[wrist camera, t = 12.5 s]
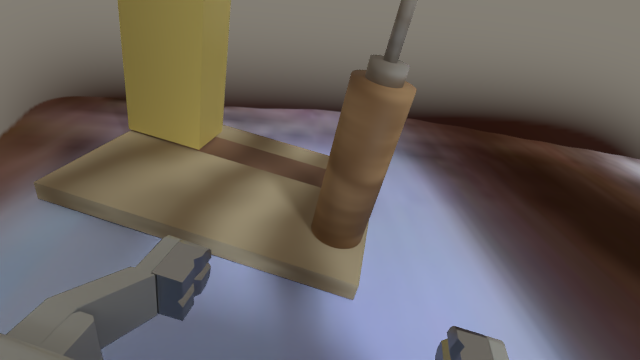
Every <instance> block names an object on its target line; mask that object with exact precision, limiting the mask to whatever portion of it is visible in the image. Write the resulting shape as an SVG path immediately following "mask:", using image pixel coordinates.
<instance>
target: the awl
mask: <svg viewBox="0 0 640 360" xmlns="http://www.w3.org/2000/svg"><path fill="white" fill-rule="evenodd" d="M417 1H418V0H401V3H400V6H399V10H398V13H397V16H396V19H395V23H394V26H393V29H392V32H391V36H390V39H389V42H388V46H387V49H386V52H385V55H384V56H381V55H371V56H370V60H369V63H368V67H367V70H355V71H353V72H352V73H351V76H350V80H349V84H348V88H347V91H346V95H345V99H344V103H343V107H342V110H341V114H340V118H339V122H338V126H337V129H336V133H335V137H334V141H333V145H332V148H331V152H330V156H329V160H328V164H327V167H326V171H325V175H324V179H323V183H322V187H321V190H320V194H319V198H318V202H317V206H316V209H315V213H314V217H313V221H312V225H311V229H312V232H313V234H314V235H315V237H316V238H317V239H318V240H320V241H321V242H322V243H324V244H326V245H328V246H330V247H333V248H338V249H350V248H353V247H355V246H357V245H358V244H359V243H360V242H361V240H362V237H363V234H364V231H365V229H366V226H367V223H368V221H369V218H370V215H371V213H372V210H373V207H374V204H375V202H376V199H377V196H378V194H379V191H380V188H381V186H382V183H383V180H384V177H385V175H386V172H387V169H388V167H389V164H390V161H391V158H392V156H393V153H394V150H395V148H396V145H397V142H398V140H399V137H400V134H401V131H402V129H403V126H404V123H405V121H406V118H407V115H408V112H409V110H410V107H411V104H412V102H413V99H414V96H415V94H416V88H415V87H414V86H413V85H411V84H410V83H408V82H406V81H405V80H406V77H407V74H408V71H409V68H410V66H409V65H408V64H406V63H404V62H402V61H400V60H398V59H399V56H400V53H401V50H402V46H403V43H404V40H405V37H406V34H407V31H408V28H409V25H410V22H411V19H412V16H413V13H414V10H415V6H416V4H417Z"/></svg>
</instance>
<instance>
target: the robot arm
mask: <svg viewBox="0 0 640 360" xmlns="http://www.w3.org/2000/svg"><path fill="white" fill-rule="evenodd" d="M210 258H211V249H209V248H206V247H203V246H200V245H197V244H194V243H191V242H189V241H186V240H183V239H179V238H176V237H173V236H170V235H168V236H166V237H164V238H163V239H162V240H161V241H160V242H159V243H158V244H157V245H156V246H155V247H154V248H153V249H152V250H151V251H150V252H149V254H148V255H147V256H146V257H145V258H144V259H143V260H142V261H141V262H140V263H139V264H138V265H137V266H136V267H135V268H134V267H128V268H126V269H123V270H120V271H118V272H115V273H113V274H110V275H107V276H105V277H102V278H99V279H97V280H94V281H92V282H89V283H86V284H84V285H81V286H78V287H76V288H73V289H71V290H68V291H65V292H63V293H60V294H57V295H55V296H52V297H50V298H47V299H46V300H45V301H44V302H43V303H41V304H40V305H39V306H38V307H37V308H36V309H35V310H33V311H32V312H31V313H30V314H29V315H28V316H27V317H25V318H24V319H23V320H22V321H21V322H20V323H19V324H17V325H16V326H15V327H14V328H13V329H12V330H11V331H9V332H8V333H7V334H6V335H4V334H1V333H0V360H103V357H102V353H101V349H102V348H104V347H105V346H107V345H109V344H110V343H112V342H114V341H115V340H117V339H119V338H120V337H122V336H124V335H125V334H127V333H129V332H130V331H132V330H134V329H135V328H137V327H139V326H140V325H142V324H143V323H145V322H147V321H148V320H150V319H152V318H153V317H155V316H157V315H158V314H161V315H165V316H168V317H171V318H174V319H178V320H181V321H183V320H184V318H185V317H186V315H187V314H188V312H189V311H190V309H191V308H192V306H193V305H194V297H195V296H197V295H199V294H201V293H202V291H203V289H204V288H205V286H206V284H207V281H208V279H209V276H210V270H211V266H210V265H209V263H208V261H209V260H210ZM157 313H158V314H157ZM447 337H448V339H445V340H442V341H441V342H440V344H439V346H438V348H437V351H436V355H435V360H509V358H508V355H507V351H506V348H505V345H504V343H503V342H502V341H501V340H498V339H494V338H491V337H488V336H484V335H482V334H479V333H475V332H472V331H469V330H466V329H462V328H459V327H456V326H452V327H450V329H449V330H448V332H447Z"/></svg>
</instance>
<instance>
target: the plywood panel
mask: <svg viewBox="0 0 640 360" xmlns="http://www.w3.org/2000/svg"><path fill="white" fill-rule="evenodd" d="M328 160H329V156H328V155H324V154H321V153H317V152H314V151H310V150H307V149H304V148H300V147H297V146H293V145H290V144H287V143H283V142H280V141H276V140H273V139H269V138H266V137H263V136H259V135H256V134H252V133H249V132H246V131H242V130H239V129H235V128H232V127H228V126H225V125H222V132H221V133H219V134H218V135H217V136H216V137H214V138H213V139H212V140H211V141H209V142H208V143H207V144H206V145H204V146H203V147H202V148H201V149H200V150H198V149H195V148H191V147H188V146H185V145H181V144H178V143H175V142H171V141H168V140H165V139H161V138H158V137H155V136H151V135H148V134H145V133H141V132H138V131H135V130H131V131H129V132H127V133H125V134H123V135H121V136H119V137H118V138H116V139H114V140H112V141H110V142H108V143H106V144H104V145H103V146H101V147H99V148H97V149H95V150H93V151H91V152H89V153H88V154H86V155H84V156H82V157H80V158H78V159H76V160H74V161H73V162H71V163H69V164H67V165H65V166H63V167H61V168H59V169H58V170H56V171H54V172H52V173H50V174H48V175H46V176H44V177H43V178H41V179H39V180H37V181H35V182H34V185H35V189H36V192H37V196H38V199H42V200H45V201H48V202H51V203H54V204H57V205H60V206H63V207H66V208H69V209H73V210H76V211H79V212H82V213H85V214H88V215H91V216H94V217H97V218H100V219H103V220H107V221H110V222H113V223H116V224H119V225H122V226H125V227H128V228H131V229H134V230H138V231H141V232H144V233H147V234H150V235H153V236H156V237H159V238H162V239H163V238H164V237H166V236H168V235H170V236H173V237H176V238H179V239H183V240H186V241H189V242H191V243H194V244H197V245H200V246H203V247H206V248H209V249H211V254H212V255H215V256H218V257H221V258H224V259H227V260H230V261H234V262H237V263H240V264H243V265H246V266H249V267H252V268H255V269H258V270H261V271H264V272H268V273H271V274H274V275H277V276H280V277H283V278H286V279H289V280H292V281H295V282H299V283H302V284H305V285H308V286H311V287H314V288H317V289H320V290H323V291H326V292H330V293H333V294H336V295H339V296H342V297H345V298H348V299H351V300H353V299H354V296H355V294H356V291H357V289H358V286H359V280H360V273H361V267H362V260H363V254H364V247H365V241H366V235H367V228H368V223H367V226H366V229H365V231H364V234H363V237H362V240H361V242H360V243H359V244H358V245H357V246H355V247H353V248H350V249H338V248H333V247H330V246H328V245H326V244H324V243H322V242H321V241H320V240H318V239H317V238H316V237H315V235H314V234H313V232H312V229H311V225H312V221H313V217H314V213H315V209H316V206H317V202H318V198H319V194H320V190H321V187H322V183H323V179H324V175H325V171H326V167H327V164H328ZM368 222H369V221H368Z"/></svg>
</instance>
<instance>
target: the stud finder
mask: <svg viewBox="0 0 640 360" xmlns="http://www.w3.org/2000/svg"><path fill="white" fill-rule="evenodd" d="M230 5H231V0H118V9H119V21H120V32H121V43H122V54H123V66H124V77H125V89H126V100H127V111H128V123H129V129H131V130H135V131H138V132H141V133H145V134H148V135H151V136H155V137H158V138H161V139H165V140H168V141H171V142H175V143H178V144H181V145H185V146H188V147H191V148H195V149H198V150H200V149H201V148H202V147H203V146H204V145H206V144H207V143H208V142H209V141H211V140H212V139H213V138H214V137H216V136H217V135H218V134H219V133H221V132H222V125H223V110H224V95H225V80H226V65H227V50H228V35H229V19H230Z"/></svg>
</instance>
